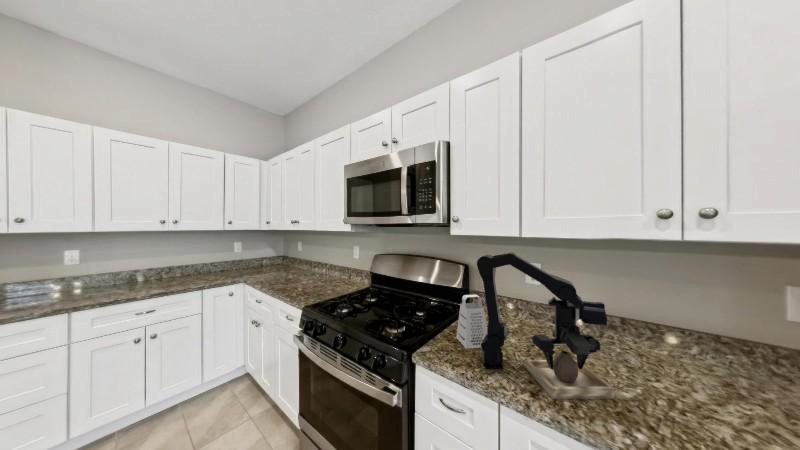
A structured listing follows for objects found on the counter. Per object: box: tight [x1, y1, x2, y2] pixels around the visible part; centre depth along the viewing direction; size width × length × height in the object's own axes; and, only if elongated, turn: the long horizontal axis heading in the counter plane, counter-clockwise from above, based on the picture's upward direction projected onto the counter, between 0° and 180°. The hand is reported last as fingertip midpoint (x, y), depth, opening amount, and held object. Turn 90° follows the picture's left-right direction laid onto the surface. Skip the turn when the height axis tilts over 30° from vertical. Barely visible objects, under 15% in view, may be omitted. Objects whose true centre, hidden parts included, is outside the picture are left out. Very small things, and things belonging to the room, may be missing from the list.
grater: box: [455, 294, 488, 350], centre depth 111 cm, size 10×10×20 cm
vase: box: [553, 350, 578, 383], centre depth 82 cm, size 7×7×9 cm
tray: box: [525, 359, 616, 400], centre depth 82 cm, size 18×16×3 cm
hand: (565, 368), depth 82 cm, fingers open, 9 cm apart
